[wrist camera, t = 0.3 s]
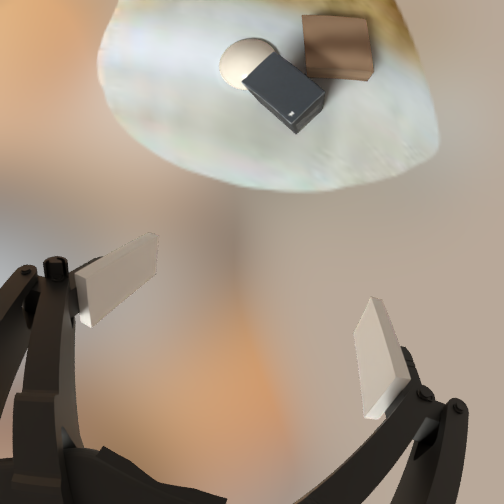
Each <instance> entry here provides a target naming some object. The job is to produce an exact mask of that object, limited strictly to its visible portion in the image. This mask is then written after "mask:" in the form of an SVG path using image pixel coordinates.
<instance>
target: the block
mask: <svg viewBox="0 0 504 504" xmlns="http://www.w3.org/2000/svg"><path fill="white" fill-rule="evenodd" d="M302 23H303V34H304V45H305V59H306V72H307V77H308V78H335V79H349V80H360V81H368V79H369V78H370V77H371V75H372V74H373V72H374V70H373V61H372V54H371V46H370V40H369V34H368V28H367V22H366V19H361V18H352V17H341V16H323V15H302Z"/></svg>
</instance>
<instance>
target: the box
mask: <svg viewBox="0 0 504 504" xmlns="http://www.w3.org/2000/svg"><path fill="white" fill-rule="evenodd" d="M241 83H242V84H243V85H244V86H245V87H246V88H247V89H248V90H249V91H250V92H251V93H252V94H253V95H254V97H255V98H256V99H257V100H258V101H259V102H260V103H261V104H262V105H264V106H265V107H266V108H267V109H268V110H269V111H270V112H272V113H273V114H274V115H275V116H276V117H277V118H278V119H279V120H281V121H282V122H283V123H284V124H285V125H286V126H287V127H288V128H289V129H291V130H292V131H293V132H294V133H295V134H297V133H298V132H299V131H300V130H302V129H303V128H304V127H305V126H306V125H307V124H308V123H309V122H310V121H311V120H312V119H313V118H314V117H315V116H316V115H317V114H318V113H320V112H321V111H322V108H323V102H324V96H325V91H324V90H323V89H322V88H320V87H319V86H318V85H317V84H316V83H314V82H313V81H312V80H311V79H310V78H308V77H307V76H306V75H305V74H303V73H302V72H301V71H300V70H299V69H297V68H296V67H295V66H293V65H292V64H291V63H290V62H288V61H287V60H285V59H284V58H283V57H281V56H280V55H279V54H277V53H276V52H275V51H273V52H272V53H271V54H270V55H269V56H268V57H267V58H266V59H265V60H263V61H262V62H261V63H260V64H259V65H258V66H257V67H256V68H255V69H254V70H253V71H252V72H251V73H250V74H249V75H248V76H247V77H246V78H244V79H243V80H242V82H241Z"/></svg>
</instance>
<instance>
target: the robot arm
mask: <svg viewBox="0 0 504 504" xmlns="http://www.w3.org/2000/svg"><path fill="white" fill-rule="evenodd" d="M158 242H159V235H157V234H153V233H150V232H148V233H146V234H144V235H142V236H141V237H139V238H137V239H135V240H133V241H131V242H129V243H127V244H125V245H124V246H122V247H120V248H118V249H116V250H114V251H112V252H111V253H109V254H107V255H105V256H102V257H98V258H94V259H92V260H90V261H89V262H88V263H85V264H84V265H83V266H80V267H78V268H76V269H75V270H73V271H71V272H68V262H67V259H66V258H64V257H60V256H55V257H50V258H48V259H46V260H45V261H44V262H43V267H44V274H45V277H42V276H38V275H37V268H36V267H35V266H33V265H23V266H21V267H19V268H18V269H17V270H16V271H15V272H14V273H13V274H12V275H11V276H10V278H9V279H8V280H7V281H6V282H5V283H4V285H3V286H2V287H1V288H0V418H1V415H2V412H3V409H4V406H5V402H6V399H7V397H8V394H9V391H10V388H11V386H12V383H13V381H14V378H15V376H16V373H17V371H18V368H19V366H20V364H21V361H22V359H23V357H24V354H25V352H26V350H27V348H28V351H27V357H26V364H25V372H24V380H23V389H22V393H16V395H15V398H14V408H13V458H3V459H0V504H226V501H227V498H223V497H219V496H216V495H212V494H209V493H206V492H203V491H200V490H197V489H194V488H187V487H180V486H174V485H169V484H164V483H160V482H157V481H156V480H154V479H153V478H151V477H150V476H149V475H147V474H146V473H145V472H143V471H142V470H141V469H140V468H138V467H137V466H136V465H135V464H134V463H132V462H131V461H130V460H128V459H126V458H124V457H122V456H120V455H118V454H116V453H115V452H113V451H111V450H110V449H108V448H106V447H104V446H103V447H102V449H101V450H100V451H98V450H94V449H88V448H84V446H83V443H82V440H81V437H80V433H79V425H78V416H77V405H76V391H75V365H74V363H75V361H74V360H75V359H74V357H75V315H76V314H78V313H80V319H81V322H82V323H84V324H86V325H88V326H89V327H91V328H92V327H93V326H95V325H96V324H97V323H98V322H99V321H100V320H102V319H103V318H104V317H105V316H106V315H107V314H108V313H110V312H111V311H112V310H113V309H115V307H117V306H118V305H119V304H120V303H122V302H123V301H124V300H125V299H126V298H128V297H129V296H130V295H131V294H133V293H134V292H135V291H136V290H137V289H139V288H140V287H141V286H142V285H143V284H145V283H146V282H147V281H148V280H149V279H151V278H152V277H153V276H155V275H156V266H157V253H158ZM353 335H354V342H355V349H356V355H357V362H358V370H359V378H360V386H361V395H362V404H363V415H364V418H368V419H377V420H378V419H379V418H380V417H381V416H382V415H383V413H384V412H385V414H386V419H385V420H384V422H383V423H382V424H381V425H380V426H379V427H378V428H377V429H376V430H375V431H374V433H373V434H372V435H371V436H370V437H369V438H368V439H367V440H366V441H365V442H364V443H363V445H362V446H360V447H359V448H358V449H357V450H356V451H355V452H354V453H353V454H352V455H351V456H350V457H349V458H348V459H347V460H346V461H345V462H344V463H343V464H342V465H341V466H339V467H338V468H337V469H336V470H335V471H334V472H333V473H332V474H331V475H329V476H328V477H327V478H326V479H325V480H323V481H322V482H321V483H320V484H318V485H317V486H316V487H315V488H313V489H312V490H311V491H310V492H308V493H307V494H306V495H304V496H303V497H302V498H300V499H299V500H298V501H296V502H295V503H293V504H361V503H362V502H363V501H364V500H365V499H366V498H367V497H368V496H369V495H370V494H371V492H372V491H373V490H374V489H375V488H376V487H377V486H378V484H379V483H380V482H381V481H382V480H383V478H384V477H385V476H386V475H387V473H388V472H389V471H390V470H391V468H392V467H393V466H394V464H395V463H396V461H398V459H399V458H400V456H401V455H402V454H403V452H404V451H405V449H406V448H407V447H408V445H409V443H410V442H411V441H412V439H413V440H414V443H413V447H412V450H411V453H410V456H409V459H408V462H407V464H406V467H405V470H404V472H403V475H402V478H401V480H400V483H399V485H398V487H397V490H396V492H395V494H394V497H393V499H392V501H391V503H390V504H455V503H456V499H457V495H458V491H459V487H460V482H461V477H462V471H463V465H464V459H465V451H466V442H467V432H468V416H469V412H468V408H467V406H466V404H465V403H464V402H463V401H462V400H460V399H458V398H452V399H450V400H449V401H448V402H447V403H446V404H443V403H441V402H438V401H435V397H434V394H433V392H432V391H431V390H430V389H429V388H428V387H426V386H424V385H422V384H421V381H420V378H419V375H418V373H417V370H416V368H415V364H414V362H413V358H412V356H411V354H410V352H409V351H408V350H407V349H406V347H402V346H400V344H399V342H398V339H397V336H396V334H395V331H394V328H393V326H392V323H391V320H390V318H389V315H388V313H387V310H386V308H385V306H384V303H383V301H382V299H378V298H374V297H370V300H369V302H368V304H367V306H366V308H365V310H364V313H363V315H362V317H361V319H360V321H359V323H358V325H357V327H356V329H355V331H354V333H353Z"/></svg>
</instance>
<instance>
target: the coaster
mask: <svg viewBox="0 0 504 504" xmlns="http://www.w3.org/2000/svg"><path fill="white" fill-rule="evenodd" d="M273 51H275V50H274V49H273V48H272V47H271V46H270V45H269V44H268V43H266V42H264V41H261V40H257V39H245V40H241V41H238V42H236V43H234V44H232V45H231V46H230V47H228V48H227V49H226V50H225V52H224V53H223V55H222V57H221V59H220V63H219V69H220V73H221V76H222V77H223V79H224V80H225V81H226V82H227V83H228V84H229V85H231V86H232V87H234V88H237V89H241V90H248V89H247V88H246V87H245V86H244V85H243V84H242V83H241V82H242V80H243V79H244V78H246V77H247V76H248V75H249V74H250V73H251V72H252V71H253V70H254V69H255V68H256V67H257V66H258V65H259V64H260V63H261V62H262V61H263V60H265V59H266V58H267V57H268V56H269V55H270V54H271V53H272V52H273Z"/></svg>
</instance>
